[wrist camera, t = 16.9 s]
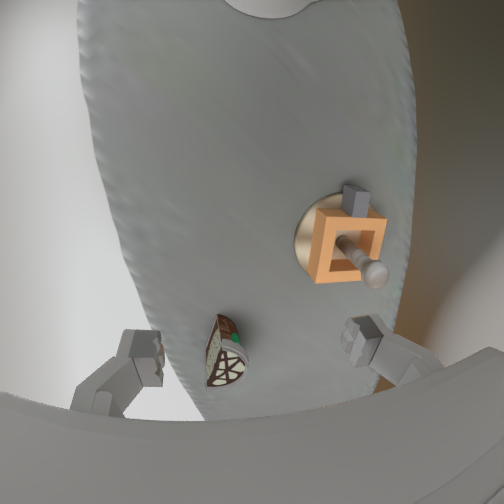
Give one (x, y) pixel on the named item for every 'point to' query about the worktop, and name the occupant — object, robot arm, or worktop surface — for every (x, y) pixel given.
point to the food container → (224, 356)
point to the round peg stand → (339, 245)
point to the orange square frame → (345, 218)
